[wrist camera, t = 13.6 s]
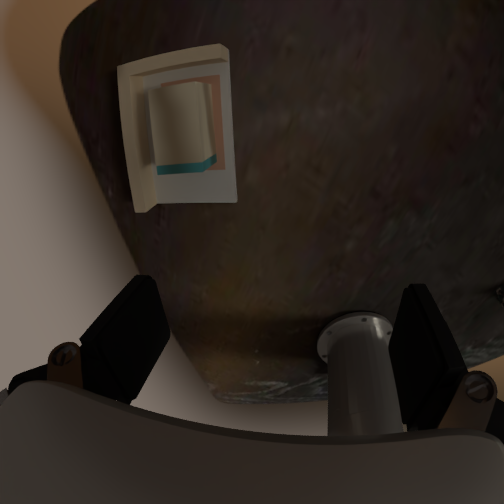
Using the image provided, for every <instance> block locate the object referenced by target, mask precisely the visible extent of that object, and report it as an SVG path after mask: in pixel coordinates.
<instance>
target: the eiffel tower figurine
mask: <svg viewBox="0 0 504 504" xmlns="http://www.w3.org/2000/svg"><path fill="white" fill-rule="evenodd" d="M496 293H497V296H498V299H499V301H500V304H501V307H503V306H504V284H503V285H502V286H500V287H499V288H498V289H497V290H496Z"/></svg>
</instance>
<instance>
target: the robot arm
mask: <svg viewBox="0 0 504 504" xmlns="http://www.w3.org/2000/svg"><path fill="white" fill-rule="evenodd" d="M169 338H170V328H169V325H168V322H167V319H166V316H165V312H164V309H163V306H162V302H161V299H160V295H159V292H158V288H157V285H156V282H155V280H153V279H152V277H151V276H149V275H136V276H134V278H133V279H132V280H131V281H130V282H129V283H128V284H127V285H126V286H125V287H124V288H123V289H122V291H121V292H120V293H119V294H118V295H117V296H116V297H115V298H114V299H113V301H112V302H111V303H110V304H109V305H108V306H107V307H106V308H105V309H104V311H103V312H102V313H101V314H100V315H99V317H97V319H96V320H95V321H94V322H93V323H92V324H91V326H90V327H89V328H88V329H87V330H86V332H85V333H84V334H83V335H82V336H81V337H80V341H81V343H82V345H81V346H80V347H79V346H78V345H77V344H76V343H74V342H65V343H62V344H60V345H58V346H57V347H55V348H54V349H53V350H52V351H51V353H50V355H49V357H48V364H46V365H42V366H39V367H37V368H34V369H31V370H28V371H26V372H22V373H20V374H18V375H16V376H14V377H13V378H12V380H11V382H10V384H9V388H8V390H7V389H6V388H5V389H4V390H2V391H1V392H0V504H504V402H503V401H501V400H499V399H498V398H497V386H496V384H495V382H494V380H493V379H492V378H491V376H489V375H488V374H486V373H485V372H482V371H471V372H468V370H467V368H466V365H465V363H464V360H463V358H462V356H461V353H460V351H459V349H458V347H457V344H456V342H455V340H454V338H453V336H452V334H451V331H450V329H449V327H448V325H447V323H446V322H445V320H444V318H443V316H442V315H441V313H440V311H439V309H438V307H437V305H436V303H435V301H434V299H433V297H432V295H431V294H430V292H429V290H428V288H427V286H426V285H425V284H410V285H409V286H408V288H405V289H404V291H403V295H402V299H401V303H400V306H399V310H398V314H397V317H396V321H395V324H394V328H393V327H392V325H391V323H390V322H389V321H388V319H386V318H385V317H383V316H381V315H379V314H376V313H372V312H354V313H350V314H346V315H343V316H341V317H338V318H336V319H335V320H333V321H331V322H330V323H329V324H327V325H326V326H325V327H324V328H323V330H322V331H321V333H320V334H319V336H318V340H317V351H318V354H319V356H320V357H321V359H322V360H323V361H325V362H326V363H327V367H328V436H303V435H302V436H301V435H285V434H272V433H262V432H253V431H245V430H238V429H231V428H224V427H218V426H213V425H207V424H202V423H197V422H192V421H187V420H183V419H179V418H174V417H170V416H166V415H163V414H159V413H155V412H151V411H148V410H144V409H141V408H138V407H134V406H131V405H130V403H131V401H132V400H134V399H136V397H137V396H138V394H139V392H140V390H141V389H142V387H143V385H144V383H145V381H146V380H147V377H148V376H149V374H150V372H151V371H152V369H153V367H154V365H155V363H156V362H157V360H158V358H159V356H160V355H161V353H162V351H163V349H164V347H165V345H166V344H167V342H168V340H169ZM116 400H117V401H116ZM402 423H403V424H406V425H407V432H404V431H403V425H402ZM417 430H418V431H417Z"/></svg>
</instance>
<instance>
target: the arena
mask: <svg viewBox="0 0 504 504" xmlns="http://www.w3.org/2000/svg"><path fill="white" fill-rule="evenodd" d="M117 75H118V91H119V104H120V115H121V125H122V133H123V142H124V149H125V156H126V163H127V170H128V176H129V182H130V187H131V193H132V198H133V204H134V209H135V213H136V212H147V211H148V210H150V209H151V208H152V207H153V206H155V205H156V204H157V203H236V202H237V190H236V174H235V157H234V140H233V123H232V104H231V85H230V65H229V49H227V48H226V47H224V46H223V45H222V44H214V45H207V46H200V47H194V48H189V49H183V50H178V51H173V52H169V53H164V54H160V55H156V56H152V57H148V58H144V59H141V60H137V61H134V62H130V63H127V64H124V65H120V66H117ZM195 81H196V82H202V83H207V84H211V89H212V104H213V118H214V131H215V143H216V156H217V162H216V163H215V164H213V165H212V166H211V167H209V168H208V169H207V170H205V171H204V172H197V173H180V174H166V175H157V168H156V161H155V153H154V145H153V137H152V128H151V119H150V109H149V97H148V90H151V89H156V88H161V87H166V86H171V85H176V84H182V83H188V82H195Z"/></svg>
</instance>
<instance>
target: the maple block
mask: <svg viewBox="0 0 504 504" xmlns="http://www.w3.org/2000/svg"><path fill="white" fill-rule="evenodd" d="M148 97H149V109H150V119H151V128H152V137H153V145H154V153H155V161H156V168H157V175H166V174H180V173H197V172H204V171H205V170H207V169H208V168H209V167H211V166H212V165H213V164H215V163H216V162H217V156H216V143H215V131H214V118H213V104H212V89H211V84H207V83H202V82H196V81H195V82H188V83H182V84H176V85H171V86H166V87H161V88H156V89H151V90H148Z"/></svg>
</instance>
